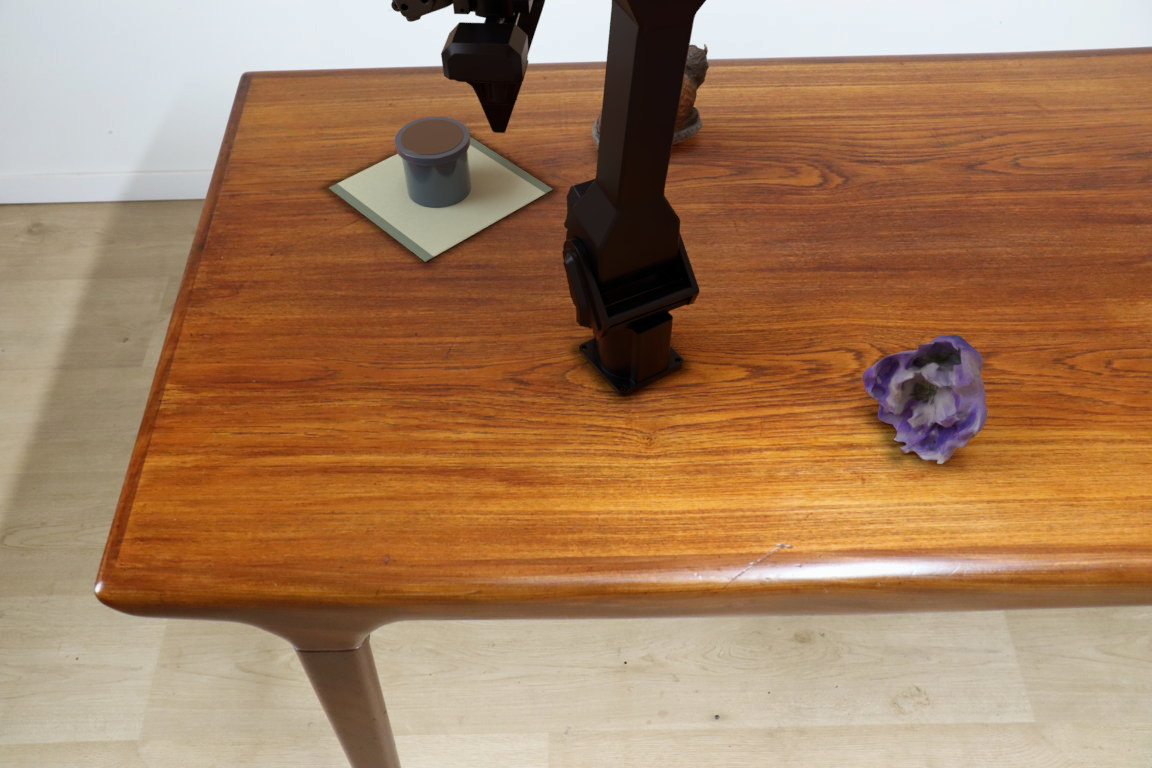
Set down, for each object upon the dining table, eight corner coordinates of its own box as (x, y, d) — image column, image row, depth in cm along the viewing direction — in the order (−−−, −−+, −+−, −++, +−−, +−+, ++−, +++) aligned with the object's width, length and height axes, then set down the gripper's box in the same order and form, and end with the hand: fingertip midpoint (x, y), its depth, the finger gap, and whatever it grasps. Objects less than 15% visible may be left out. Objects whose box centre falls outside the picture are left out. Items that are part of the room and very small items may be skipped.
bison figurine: (602, 170, 97) (603, 81, 90) (582, 134, 102) (582, 45, 94) (711, 150, 99) (721, 61, 92) (687, 115, 104) (695, 28, 96)
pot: (488, 194, 94) (483, 141, 90) (423, 219, 92) (415, 166, 87) (454, 160, 98) (447, 108, 94) (391, 183, 96) (381, 131, 91)
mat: (552, 189, 95) (552, 189, 95) (425, 262, 88) (425, 261, 88) (453, 126, 103) (453, 126, 103) (328, 188, 96) (328, 187, 96)
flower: (939, 290, 74) (926, 321, 66) (1022, 366, 73) (1021, 407, 65) (854, 368, 79) (833, 406, 70) (932, 440, 78) (919, 488, 69)
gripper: (415, -124, 80) (439, 50, 91) (359, -30, 67) (394, 159, 79) (546, -122, 79) (553, 54, 90) (514, -27, 66) (527, 164, 78)
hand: (507, 103), depth 84 cm, fingers open, 9 cm apart
